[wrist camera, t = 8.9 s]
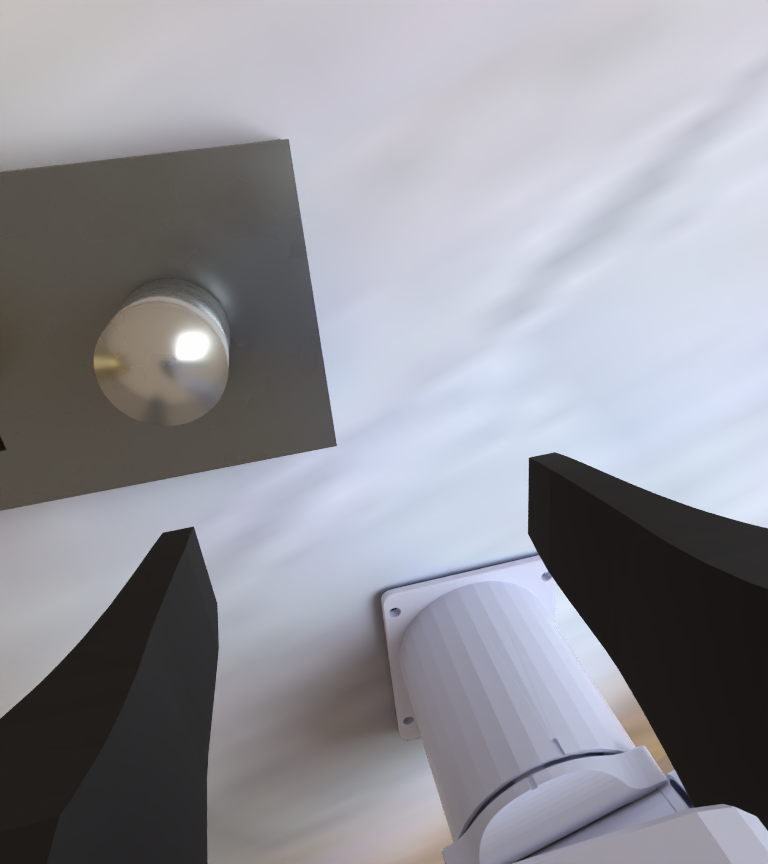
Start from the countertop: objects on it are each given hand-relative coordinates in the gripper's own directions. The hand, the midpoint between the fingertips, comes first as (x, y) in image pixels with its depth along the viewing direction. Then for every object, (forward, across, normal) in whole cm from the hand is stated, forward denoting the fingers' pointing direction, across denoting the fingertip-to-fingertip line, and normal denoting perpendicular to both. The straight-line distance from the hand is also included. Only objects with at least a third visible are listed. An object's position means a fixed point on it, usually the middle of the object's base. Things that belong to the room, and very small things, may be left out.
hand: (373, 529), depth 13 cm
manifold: (+9, +8, -3) cm, 13 cm away
